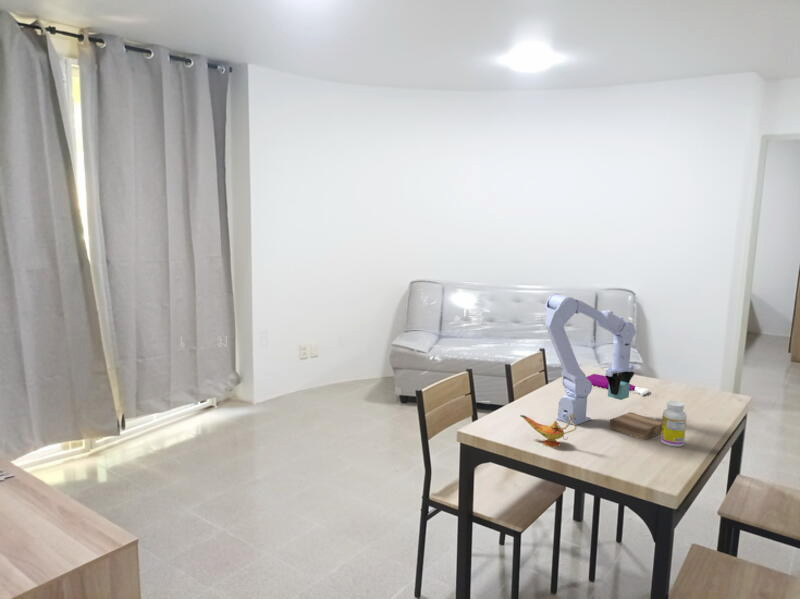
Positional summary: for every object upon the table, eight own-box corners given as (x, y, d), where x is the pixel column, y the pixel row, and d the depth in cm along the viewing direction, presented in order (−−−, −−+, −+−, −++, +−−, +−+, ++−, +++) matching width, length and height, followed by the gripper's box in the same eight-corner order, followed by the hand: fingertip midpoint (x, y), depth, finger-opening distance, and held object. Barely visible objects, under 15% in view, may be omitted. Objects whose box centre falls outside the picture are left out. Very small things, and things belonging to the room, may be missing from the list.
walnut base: (643, 439, 178) (644, 430, 178) (609, 428, 187) (609, 419, 187) (663, 431, 185) (664, 422, 185) (629, 420, 195) (629, 412, 194)
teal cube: (620, 400, 195) (621, 386, 194) (607, 396, 199) (608, 382, 198) (628, 397, 198) (629, 383, 197) (615, 393, 202) (616, 380, 201)
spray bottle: (594, 379, 244) (652, 393, 227) (582, 384, 237) (641, 399, 220) (594, 372, 244) (652, 386, 227) (582, 377, 236) (642, 391, 219)
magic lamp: (523, 432, 183) (524, 399, 182) (578, 445, 173) (580, 410, 172) (514, 438, 178) (516, 405, 176) (571, 453, 168) (573, 417, 166)
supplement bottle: (663, 437, 180) (667, 398, 179) (686, 442, 176) (690, 402, 174) (657, 443, 175) (661, 403, 173) (681, 449, 171) (684, 408, 169)
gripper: (620, 360, 188) (617, 399, 190) (643, 354, 197) (640, 391, 199) (601, 356, 194) (598, 394, 196) (624, 350, 203) (621, 386, 205)
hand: (618, 392), depth 198 cm, fingers closed on teal cube, 5 cm apart
